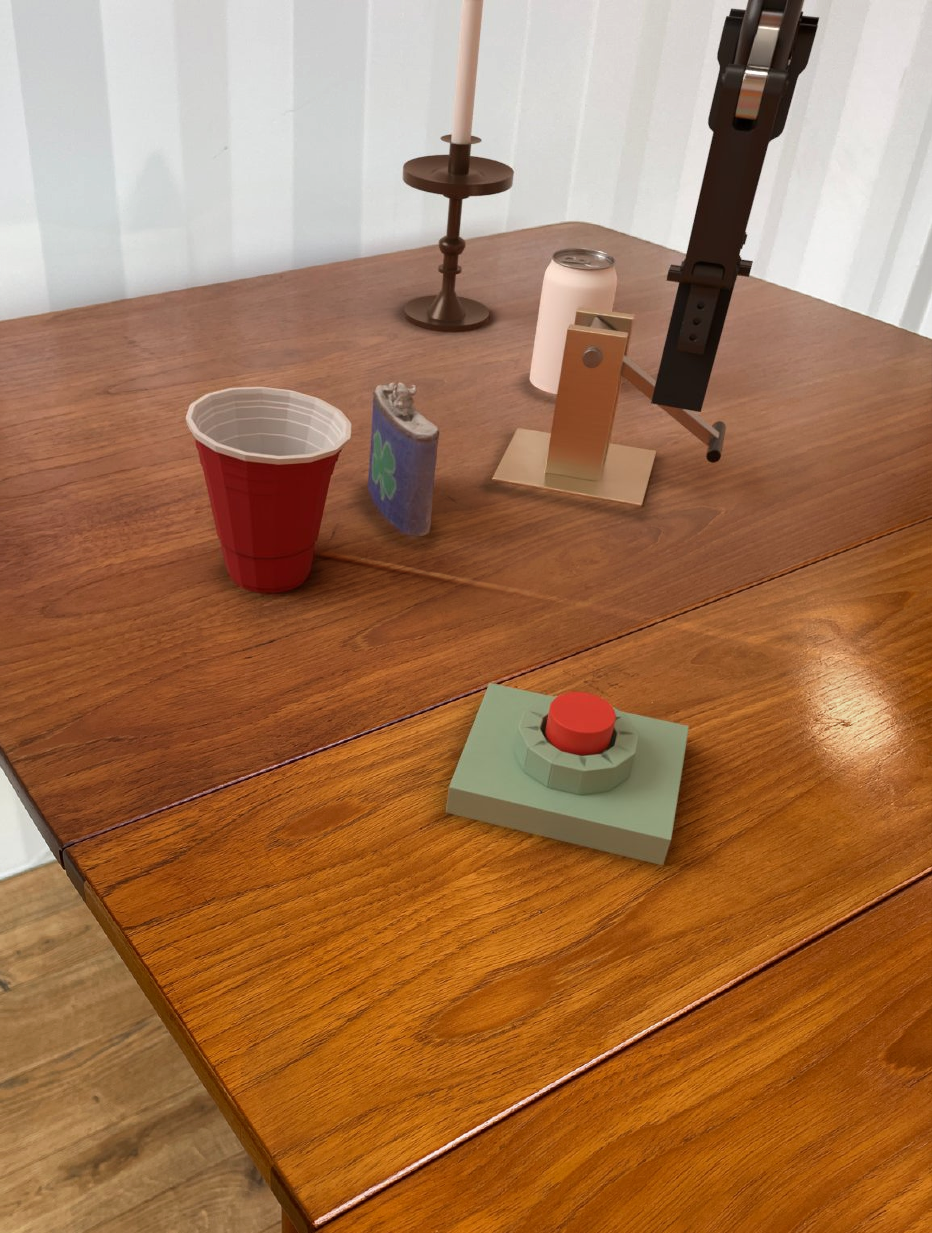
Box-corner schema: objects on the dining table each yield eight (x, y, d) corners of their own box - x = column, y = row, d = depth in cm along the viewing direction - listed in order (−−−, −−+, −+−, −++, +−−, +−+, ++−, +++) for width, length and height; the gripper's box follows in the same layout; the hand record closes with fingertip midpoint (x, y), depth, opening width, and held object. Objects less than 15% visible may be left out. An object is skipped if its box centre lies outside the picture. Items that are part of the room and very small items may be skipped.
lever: (713, 442, 90) (735, 420, 89) (707, 471, 86) (730, 449, 85) (579, 333, 88) (599, 308, 86) (567, 358, 84) (588, 333, 83)
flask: (435, 544, 84) (447, 407, 77) (399, 550, 83) (408, 412, 76) (390, 488, 90) (398, 357, 83) (356, 493, 90) (361, 361, 83)
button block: (680, 753, 67) (696, 701, 64) (662, 869, 60) (679, 815, 57) (485, 710, 69) (492, 658, 67) (445, 815, 62) (451, 762, 60)
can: (590, 410, 103) (615, 274, 95) (521, 398, 104) (540, 263, 96) (601, 383, 107) (626, 251, 99) (535, 373, 109) (554, 242, 101)
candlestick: (444, 293, 125) (477, -105, 101) (517, 321, 119) (571, -94, 95) (373, 315, 119) (391, -102, 96) (447, 346, 113) (485, -90, 90)
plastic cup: (359, 611, 77) (366, 448, 69) (201, 621, 76) (190, 456, 68) (335, 532, 85) (338, 377, 77) (192, 540, 84) (180, 383, 76)
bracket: (653, 463, 95) (688, 310, 87) (638, 518, 88) (675, 357, 80) (515, 440, 98) (536, 289, 89) (490, 491, 91) (510, 332, 82)
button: (614, 723, 63) (620, 699, 62) (605, 763, 61) (611, 738, 59) (551, 710, 64) (556, 685, 63) (539, 748, 61) (544, 723, 60)
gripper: (735, -164, 51) (627, 349, 67) (707, -157, 42) (589, 437, 58) (907, -152, 50) (755, 371, 65) (917, -142, 40) (737, 465, 56)
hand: (677, 401), depth 62 cm, fingers closed
